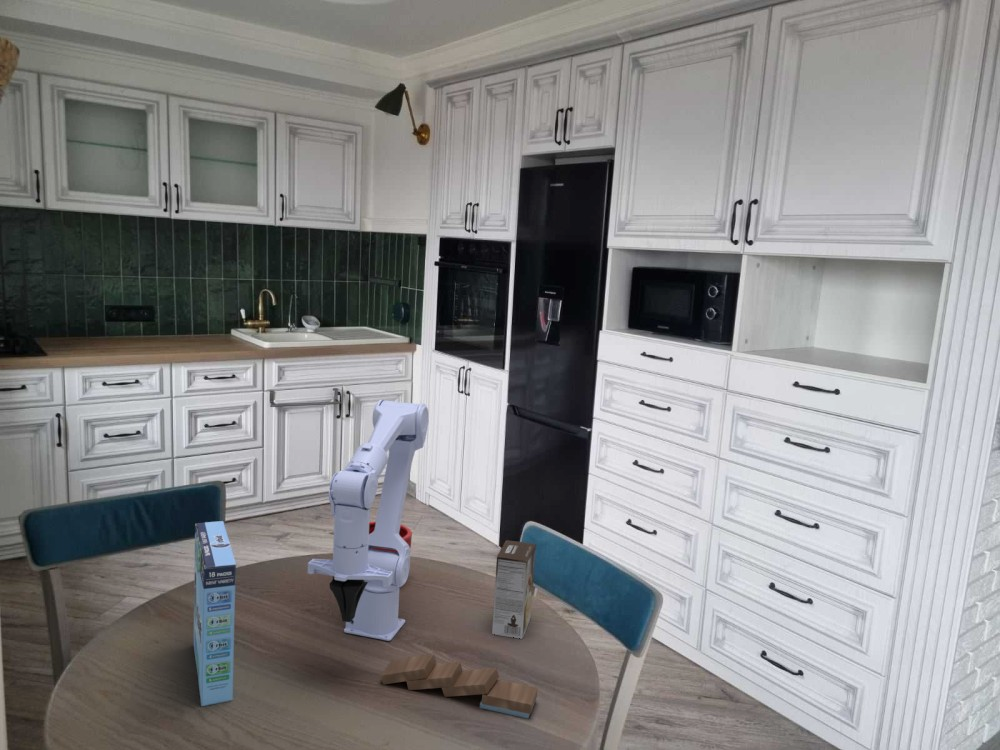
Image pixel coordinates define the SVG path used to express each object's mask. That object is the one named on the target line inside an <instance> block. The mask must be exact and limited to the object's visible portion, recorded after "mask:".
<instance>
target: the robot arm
mask: <svg viewBox="0 0 1000 750" xmlns="http://www.w3.org/2000/svg"><path fill="white" fill-rule="evenodd" d="M372 425H373V426H372V427H373V430H372V432H371V435H370V437H369V439H368V442H364V443H362V444H360V445H359V446H358V447H357V449H356V450H355V452H354V453H353V455H352V457H351V459H350V460H349V462H348V463H347V465H346V467H345V468H344V469H343V470H340V471H338V472H335V473H334V474H333V476H332V478H331V480H330V484H329V489H328V501H329V504H330V507H331V508H330V509H331V510H330V513H331V516H333V517H334V518H333V519H334V520H333V546H332V547H333V549H332V550H333V551H332V559H322V558H321V559H320V558H312V559H311V560H310V561H309V562H308V563H307V574H308V575H314V574H319V575H320V574H321V575H325V576H331V577H332V580H331V581H330V582H329V589H330V591H331V592H332V593H333V595H334V598H335V600H336V602H337V605H338V608H339V611H340V616H341V621H342V622H345V628H344V629H343V632H344V633H346V634H351V635H357V636H361V637H365V638H366V637H367V638H372V639H377V640H382V641H387V642H389V641H390V642H391V641H392V640H393V638H394V637H395V636H396V635H397V633H398V632H399V631H400V629H401V628H402V627H403V626H404V625H405V623H406V620H405V618H404V619H403V618H399V604H400V603H399V602H400V601H399V600H400V588H401V587H403V585H405V584H406V582H407V580H408V577H409V573H410V567H411V565H410V564H411V561H410V560H411V551H412V550H411V548H410V547H409V545H408V544H407V543H406V542H405V541H404V540H403V539H402V537H401V536H400V535H399V531H400V526H401V525H402V518H403V515H404V514H403V513H404V508H405V502H406V496H407V492H408V488H409V487H408V486H409V481H410V474H411V469H412V463H413V459H414V456H415V453H416V451H419V450H420V449H423V448H424V444H425V442H426V438H427V432H428V426H429V409H428V407H427V405H426V404H425V403H422V402H421V403H413V402H412V403H410V402H404V401H403V402H401V401H391V400H386V399H379V400H378V401H377V402H376V403H375V405H374V408H373V412H372ZM387 452H388V454H387ZM384 469H385V473H384V477H383V483H382V489H381V494H380V499H379V505H378V508H377V514H376V518H375V522H376V524H375V529H374V532H372V533H371V534H369V522H370V517H371V516H370V513H371V507H372V506H373V505H374V501H375V498H376V494H377V490H378V487H379V479H380V477H381V475H382V473H383V472H384ZM373 548H384V549H391V550H397V551H398V552H399V553H397V552H390V551H383V550H375V549H373Z"/></svg>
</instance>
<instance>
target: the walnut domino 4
mask: <svg viewBox="0 0 1000 750" xmlns="http://www.w3.org/2000/svg"><path fill="white" fill-rule="evenodd" d="M538 689H539V688H538V687H536V686H532V685H527V684H523V683H522V684H521V683H516V682H511V681H507V680H502V679H499V678H498V679H497V681H496V682H495V683H494V685H493V686H492V688H491V689H490V690H489V692H488V693H487V694H481V695H482V696H481V697H482V698H481V700H482V704H485V705H490V706H494V707H499V708H504V709H509V710H513V711H518V712H523V713H528V714H530V715H531V714H532V712H533V709H534V706H535V703H536V701H537V697H538Z"/></svg>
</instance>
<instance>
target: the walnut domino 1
mask: <svg viewBox="0 0 1000 750" xmlns="http://www.w3.org/2000/svg"><path fill="white" fill-rule="evenodd" d="M435 664H437V660H436V657H435V654H434V653H430V654H423V655H417V656H416V655H415V656H410V657H405V658H404V657H403V658H398V659H392V660H391V661H390V662H389V663H388V665H387V666H386V668H385V669H384V671H383V672H382V673H381V674H380V678H381V682H382V685H391V684H395V683H402V682H406V681H410V680H417V679H424V678H427V677H428V675H429V674H430V672H431V670H432V669H433V667H434V666H435Z"/></svg>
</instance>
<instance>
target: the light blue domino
mask: <svg viewBox="0 0 1000 750" xmlns="http://www.w3.org/2000/svg"><path fill="white" fill-rule="evenodd" d="M479 708H480V709H483V710H488V711H493V712H497V713H502V714H506V715H510V716H515V717H519V718H524V719H529V718H530V715H531V714H528V713H523V712H518V711H513V710H509V709H504V708H499V707H494V706H490V705H485V704H482V699H481V700H480V702H479Z"/></svg>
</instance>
